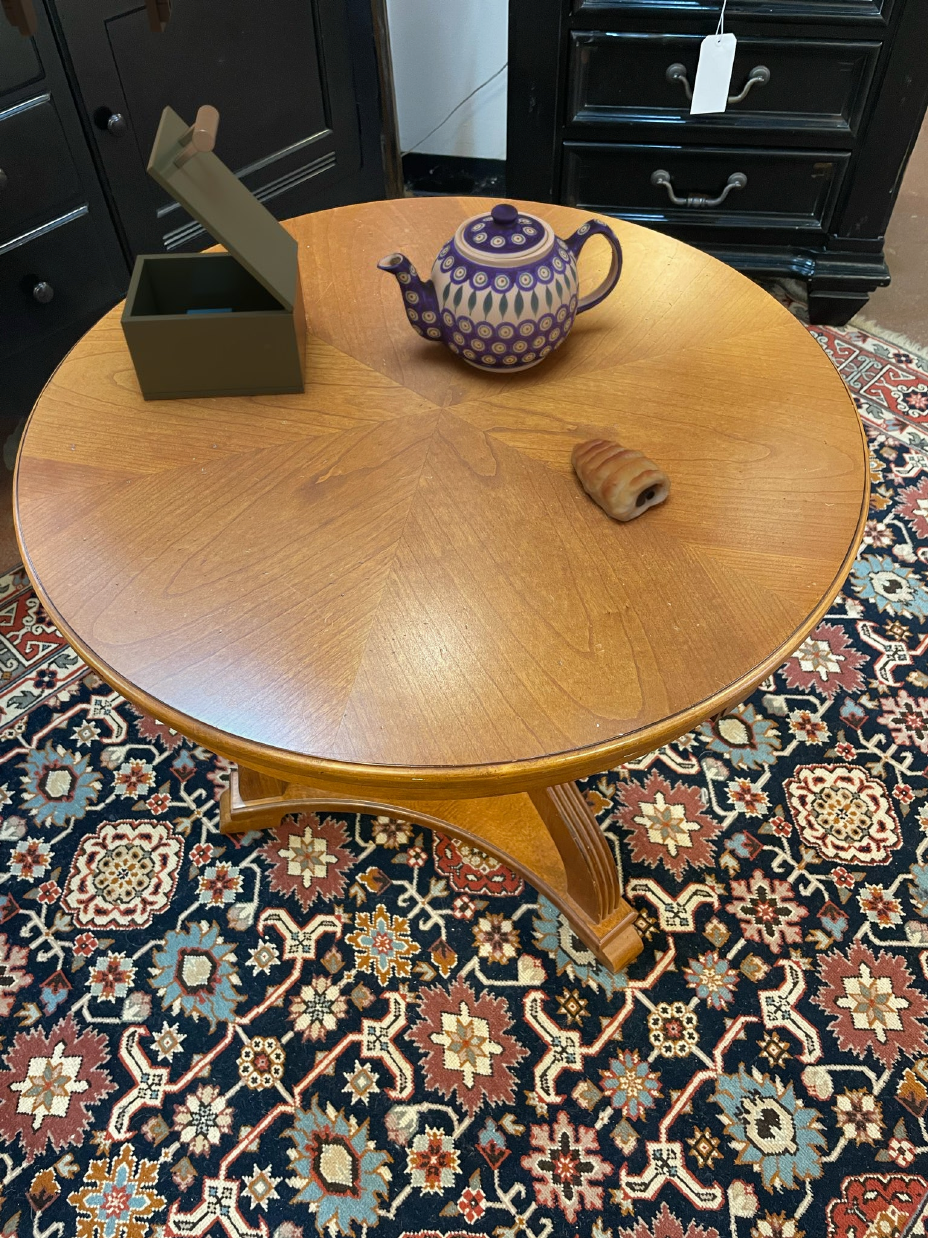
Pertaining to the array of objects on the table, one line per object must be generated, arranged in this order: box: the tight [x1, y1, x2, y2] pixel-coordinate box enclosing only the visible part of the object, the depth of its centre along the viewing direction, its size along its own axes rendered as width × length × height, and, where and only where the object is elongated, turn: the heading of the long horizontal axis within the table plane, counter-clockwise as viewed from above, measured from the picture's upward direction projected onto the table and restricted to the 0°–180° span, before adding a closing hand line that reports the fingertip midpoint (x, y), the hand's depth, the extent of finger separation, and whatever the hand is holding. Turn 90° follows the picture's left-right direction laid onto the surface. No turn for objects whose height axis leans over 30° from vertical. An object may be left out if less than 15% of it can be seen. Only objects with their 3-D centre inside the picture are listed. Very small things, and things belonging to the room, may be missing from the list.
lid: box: [146, 104, 299, 312], centre depth 85 cm, size 16×12×5 cm
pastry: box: [570, 437, 672, 522], centre depth 85 cm, size 9×7×4 cm
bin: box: [120, 251, 308, 401], centre depth 94 cm, size 16×12×9 cm
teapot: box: [376, 203, 624, 374], centre depth 94 cm, size 25×15×15 cm, turn 103°
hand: (94, 30), depth 64 cm, fingers open, 8 cm apart
